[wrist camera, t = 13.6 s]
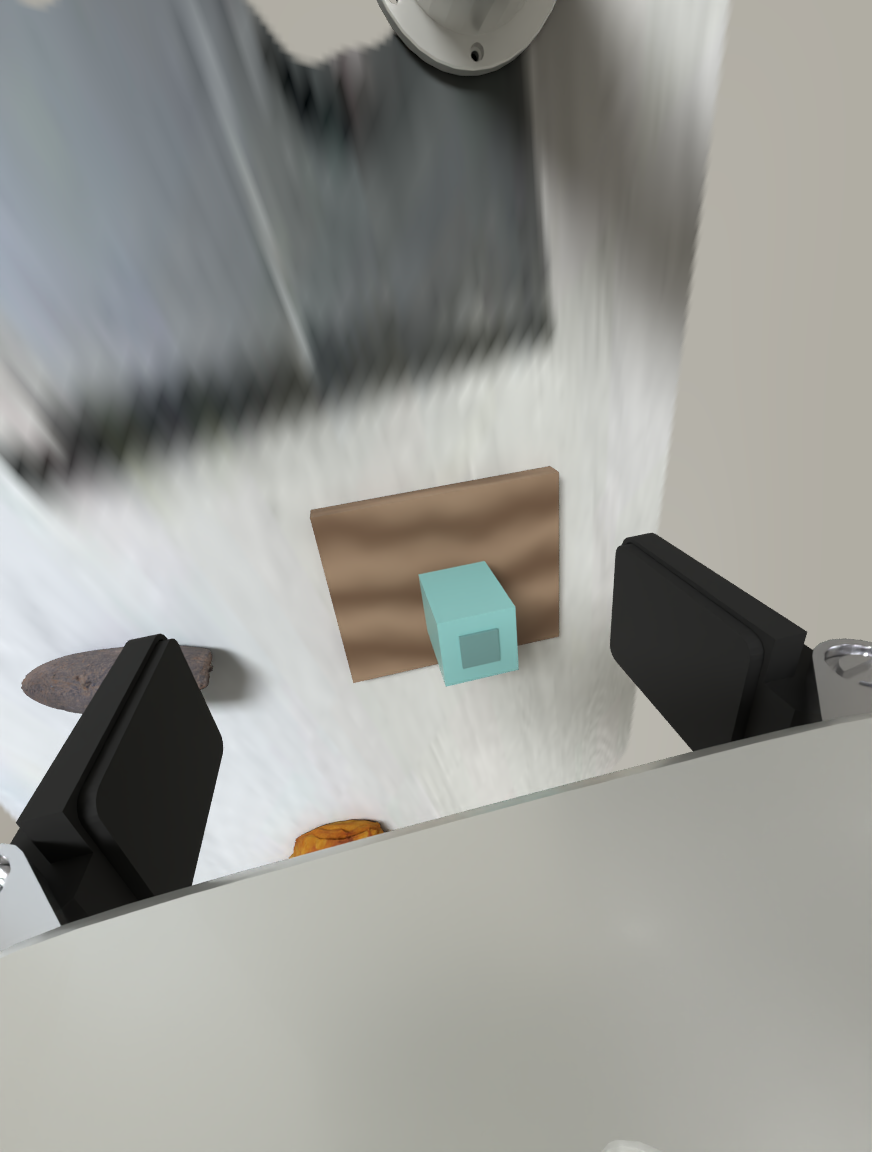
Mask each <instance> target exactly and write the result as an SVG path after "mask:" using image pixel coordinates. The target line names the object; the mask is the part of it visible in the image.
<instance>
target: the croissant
mask: <svg viewBox="0 0 872 1152" xmlns="http://www.w3.org/2000/svg"><path fill="white" fill-rule="evenodd" d="M382 833H384V832H383V830H382V829H381V827H380V824H379V823H378V822H371V821H366V820H360V821H359V820H348V821H341V822H334V823H330V824H326V825H324V826H321V827H318V828H316V829H314V830H312V831H310V832H308V833H305V834H303V835H301V836H300V837H298V838H297V839H296V841H297V842H295V847H294V853H293V854H292V855H291V856H290V857H289V858H293V857H297V856H300V855H304V854H308V853H311V852H315V851H319V850H323V849H326V848H330V847H334V846H337V845H341V844H345V843H348V842H352V841H356V840H359V839H363V838H367V837H371V836H374V835H378V834H382Z"/></svg>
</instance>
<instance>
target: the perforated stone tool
mask: <svg viewBox="0 0 872 1152" xmlns="http://www.w3.org/2000/svg"><path fill="white" fill-rule="evenodd" d="M123 648H124V647H120V648H110V649H101V650H94V651H87V652H82V653H76V654H72V655H68V656H64V657H61V658H58V659H55V660H52V661H49V662H47V663H45V664H42V665H40V666H39V667H37V668H35V669H34V670H32V671H31V672H30V673H29V674H27V675H26V678H25V679H24V680H23V682H22V687H21V689H22V690H23V691H24V693H25V694H26V695H27V696H29V697H30V698H31V699H33V700H35V701H37V702H39V703H41V704H44V705H46V706H49V707H52V708H56V709H61V710H65V711H68V712H73V713H81V714H83V713H84V711H85V709H86V708H87V706H88V705H89V703H90V701H91V700H92V698H93V696H94V695H95V693H96V691H97V690H98V688H99V687H100V685H101V683H102V682H103V680H104V678H105V677H106V675H107V674H108V672H109V670H110V669H111V667H112V665H113V664H114V662H115V661H116V659H117V657H118V656H119V654H120V652H121V651H122V649H123ZM180 648H181V650H182V652H183V654H184V657H185V659H186V661H187V663H188V665H189V667H190V669H191V672H192V674H193V676H194V678H195V680H196V682H197V685H198V687H199V689H200V690H201V689H204V688H206V687H207V686H208V684H209V677H210V675H209V672H211V671H212V669H213V668H212V667H213V666H211V665H210V664H211V661H212V654H211V652H210V650H209V649H206V648H199V647H188V646H180Z"/></svg>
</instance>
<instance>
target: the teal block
mask: <svg viewBox="0 0 872 1152" xmlns="http://www.w3.org/2000/svg"><path fill="white" fill-rule="evenodd" d="M418 575H419V581H420V587H421V594H422V600H423V606H424V613H425V619H426V625H427V631H428V634H429V637H430V640H431V643H432V646H433V649H434V652H435V655H436V658H437V661H438V664H439V667H440V670H441V673H442V676H443V679H444V682H445V685H446V686H450V685H455V684H459V683H463V682H468V681H472V680H476V679H481V678H485V677H489V676H493V675H498V674H502V673H506V672H511V671H515V670H519V669H518V649H517V630H516V610H515V606H514V604H513V603H512V601H511V600H510V598H509V597H508V595H507V594H506V592H505V591H504V589H503V588H502V586H501V585H500V583H499V582H498V580H497V579H496V577H495V576H494V574H493V573H492V571H491V570H490V568H489V567H488V565H487V564H486V562H485V561H482V562H477V563H472V564H467V565H462V566H457V567H453V568H448V569H443V570H438V571H433V572H428V573H423V574H418Z"/></svg>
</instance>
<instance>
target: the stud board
mask: <svg viewBox="0 0 872 1152" xmlns="http://www.w3.org/2000/svg"><path fill="white" fill-rule="evenodd" d="M310 520H311V523H312V527H313V531H314V535H315V539H316V542H317V546H318V550H319V554H320V558H321V561H322V565H323V569H324V573H325V576H326V580H327V584H328V588H329V592H330V595H331V599H332V603H333V607H334V611H335V614H336V618H337V622H338V626H339V630H340V633H341V637H342V641H343V645H344V649H345V652H346V656H347V660H348V664H349V668H350V671H351V675H352V679H353V683H356V682H360V681H364V680H369V679H373V678H378V677H382V676H386V675H391V674H395V673H400V672H404V671H408V670H413V669H417V668H422V667H426V666H430V665H435V664H438V661H437V658H436V655H435V652H434V649H433V646H432V643H431V640H430V637H429V634H428V631H427V625H426V619H425V613H424V606H423V600H422V594H421V587H420V581H419V575H418V574H423V573H428V572H433V571H438V570H443V569H448V568H453V567H457V566H462V565H467V564H472V563H477V562H482V561H485V562H486V564H487V565H488V567H489V568H490V570H491V571H492V573H493V574H494V576H495V577H496V579H497V580H498V582H499V583H500V585H501V586H502V588H503V589H504V591H505V592H506V594H507V595H508V597H509V598H510V600H511V601H512V603H513V604H514V606H515V610H516V630H517V646H518V645H523V644H527V643H532V642H536V641H540V640H545V639H549V638H554V637H558V636H559V472H558V471H557V470H555V469H553V468H552V467H550V466H548V467H543V468H537V469H532V470H526V471H521V472H515V473H510V474H504V475H499V476H494V477H488V478H483V479H477V480H472V481H466V482H461V483H455V484H450V485H445V486H439V487H434V488H428V489H423V490H417V491H412V492H406V493H401V494H396V495H390V496H385V497H379V498H374V499H368V500H363V501H357V502H352V503H347V504H341V505H336V506H330V507H325V508H319V509H314V510H311V513H310Z"/></svg>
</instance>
